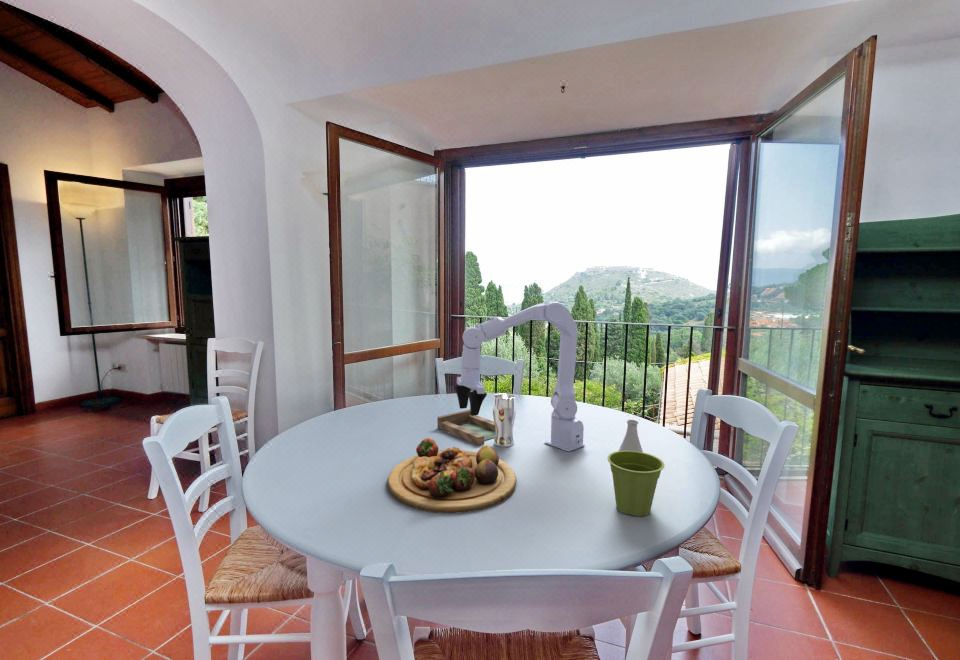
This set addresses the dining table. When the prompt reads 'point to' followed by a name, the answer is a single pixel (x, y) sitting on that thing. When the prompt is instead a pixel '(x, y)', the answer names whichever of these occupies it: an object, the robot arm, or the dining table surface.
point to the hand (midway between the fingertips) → (468, 411)
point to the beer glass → (504, 419)
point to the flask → (631, 438)
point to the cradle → (468, 426)
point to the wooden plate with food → (451, 479)
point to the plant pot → (634, 480)
